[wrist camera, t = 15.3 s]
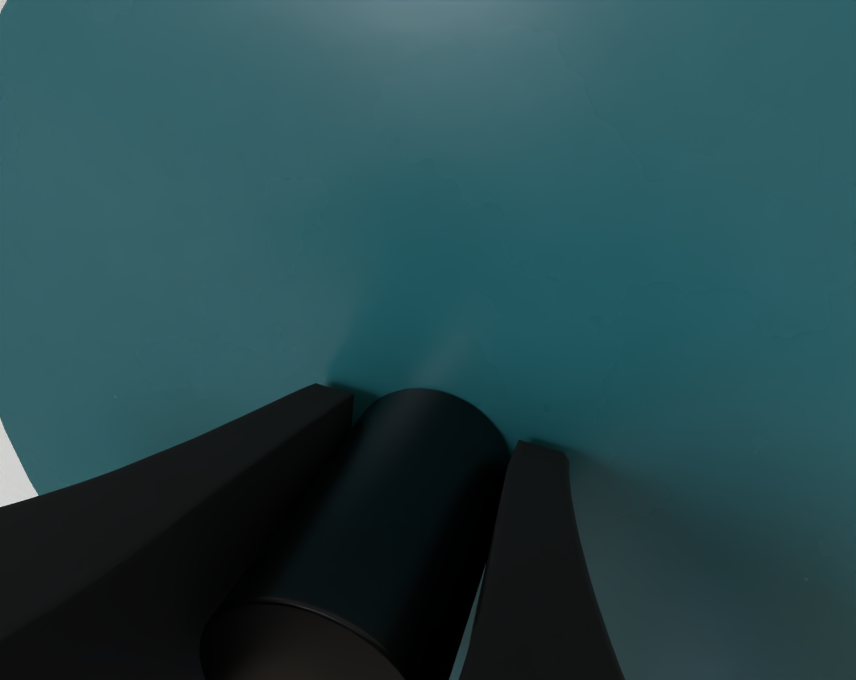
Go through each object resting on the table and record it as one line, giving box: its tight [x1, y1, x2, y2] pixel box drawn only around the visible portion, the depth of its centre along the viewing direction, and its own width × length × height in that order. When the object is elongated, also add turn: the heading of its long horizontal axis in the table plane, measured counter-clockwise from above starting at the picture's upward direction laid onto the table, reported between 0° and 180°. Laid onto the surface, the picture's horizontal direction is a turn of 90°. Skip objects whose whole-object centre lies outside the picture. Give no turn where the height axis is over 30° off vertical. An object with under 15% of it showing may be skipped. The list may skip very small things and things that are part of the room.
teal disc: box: [0, 0, 856, 680], centre depth 9 cm, size 17×17×5 cm
